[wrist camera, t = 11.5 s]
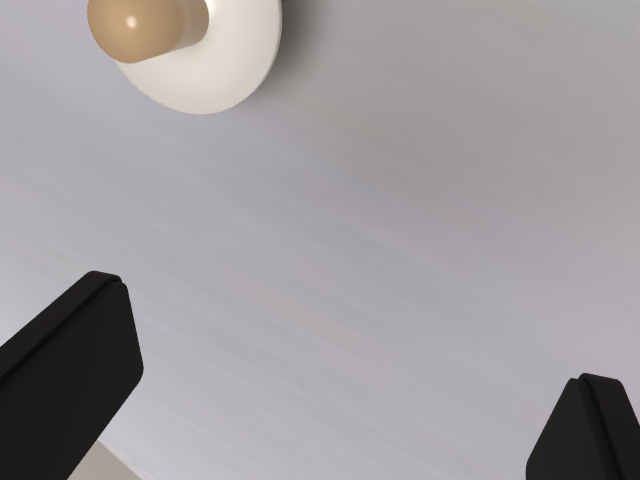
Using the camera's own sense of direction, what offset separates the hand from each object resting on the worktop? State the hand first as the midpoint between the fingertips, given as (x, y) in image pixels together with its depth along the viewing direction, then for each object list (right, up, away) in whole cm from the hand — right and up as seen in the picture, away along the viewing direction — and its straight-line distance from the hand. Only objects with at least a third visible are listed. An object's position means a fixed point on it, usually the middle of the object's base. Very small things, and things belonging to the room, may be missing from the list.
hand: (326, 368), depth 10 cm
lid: (-8, +17, +18) cm, 26 cm away
